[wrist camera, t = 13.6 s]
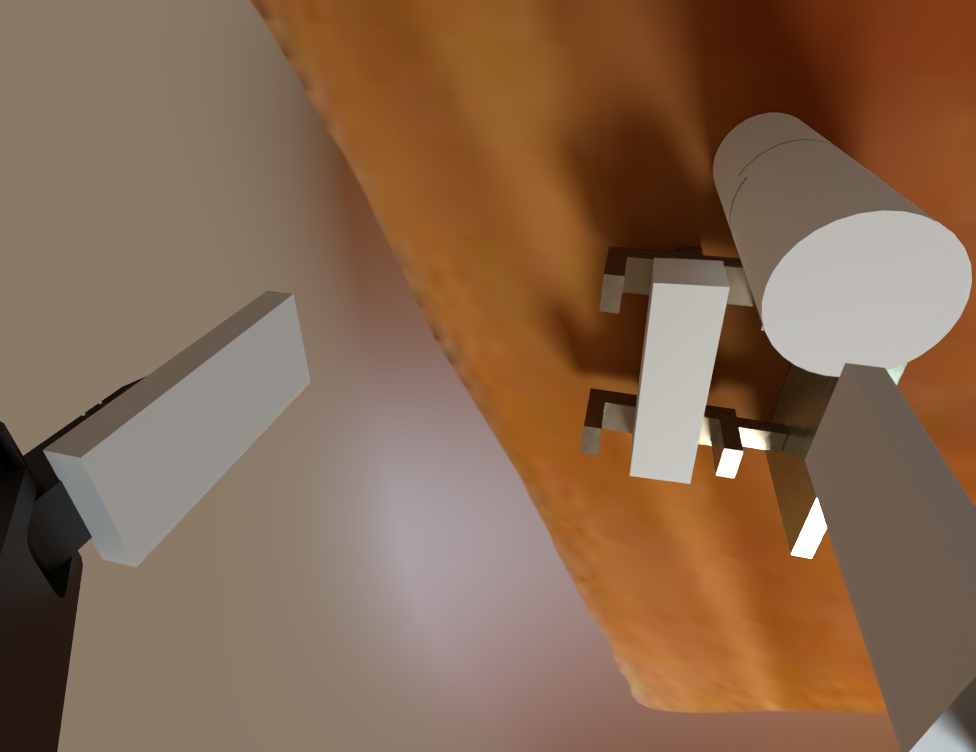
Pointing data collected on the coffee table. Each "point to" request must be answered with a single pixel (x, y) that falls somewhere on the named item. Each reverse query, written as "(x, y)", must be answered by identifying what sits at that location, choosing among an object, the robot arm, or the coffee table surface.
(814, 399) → the cup bracket
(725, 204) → the cylindrical container
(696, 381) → the rail
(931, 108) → the coffee table surface
